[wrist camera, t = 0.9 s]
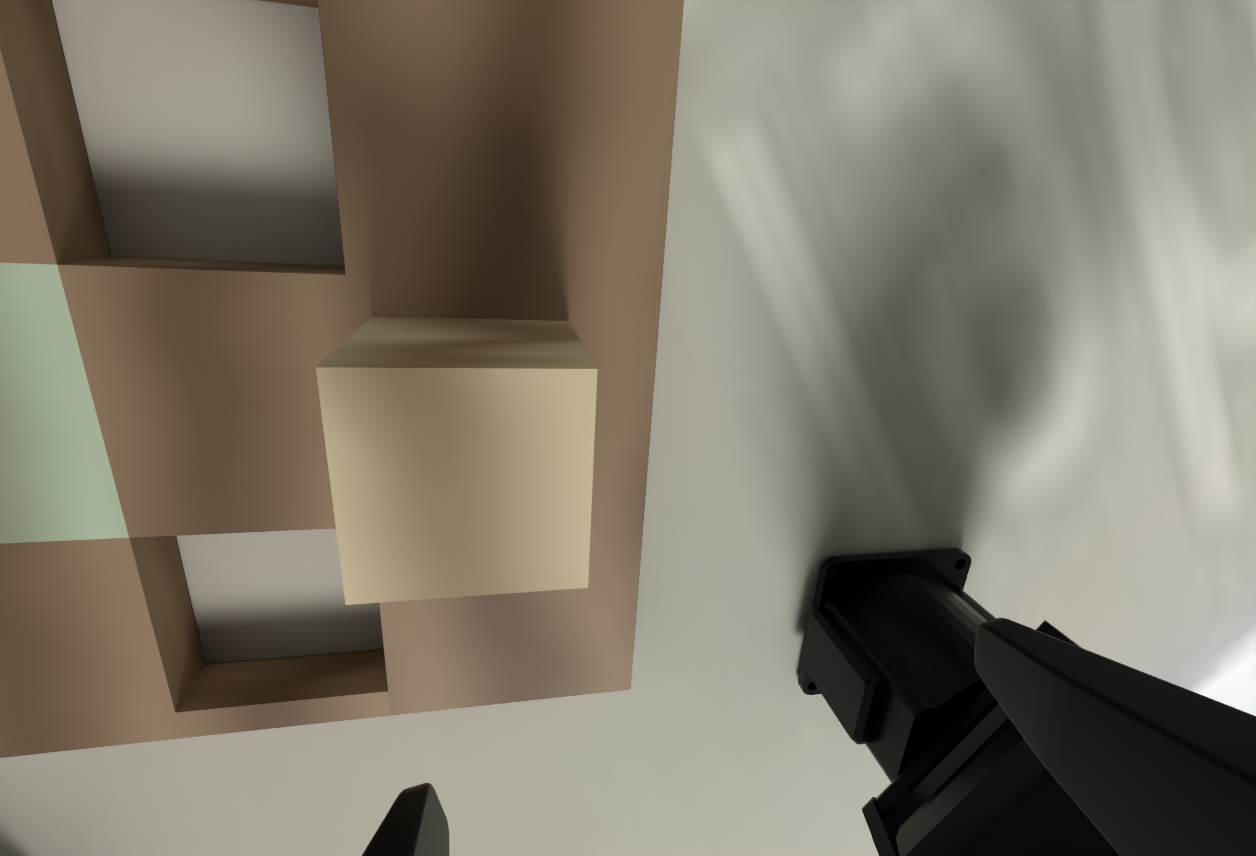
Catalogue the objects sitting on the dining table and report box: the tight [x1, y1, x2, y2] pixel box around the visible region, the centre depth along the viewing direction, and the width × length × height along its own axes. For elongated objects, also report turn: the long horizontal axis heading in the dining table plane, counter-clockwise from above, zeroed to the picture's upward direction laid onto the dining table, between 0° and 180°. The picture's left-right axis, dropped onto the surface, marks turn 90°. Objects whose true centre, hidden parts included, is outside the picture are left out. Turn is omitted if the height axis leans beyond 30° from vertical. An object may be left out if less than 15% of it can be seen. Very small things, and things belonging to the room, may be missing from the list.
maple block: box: [316, 316, 597, 605], centre depth 14 cm, size 5×5×5 cm
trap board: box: [0, 0, 684, 758], centre depth 16 cm, size 20×21×2 cm
